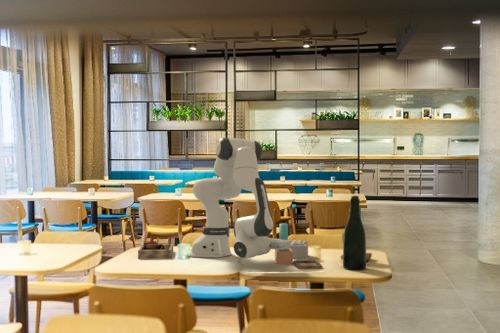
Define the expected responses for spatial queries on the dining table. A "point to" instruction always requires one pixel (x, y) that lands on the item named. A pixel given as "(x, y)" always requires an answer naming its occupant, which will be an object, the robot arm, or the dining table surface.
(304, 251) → the gray bumpy block
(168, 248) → the shallow wooden crate
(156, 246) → the pottery mug
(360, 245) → the dark green wine bottle
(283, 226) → the teal dowel
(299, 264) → the walnut tray
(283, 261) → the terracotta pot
